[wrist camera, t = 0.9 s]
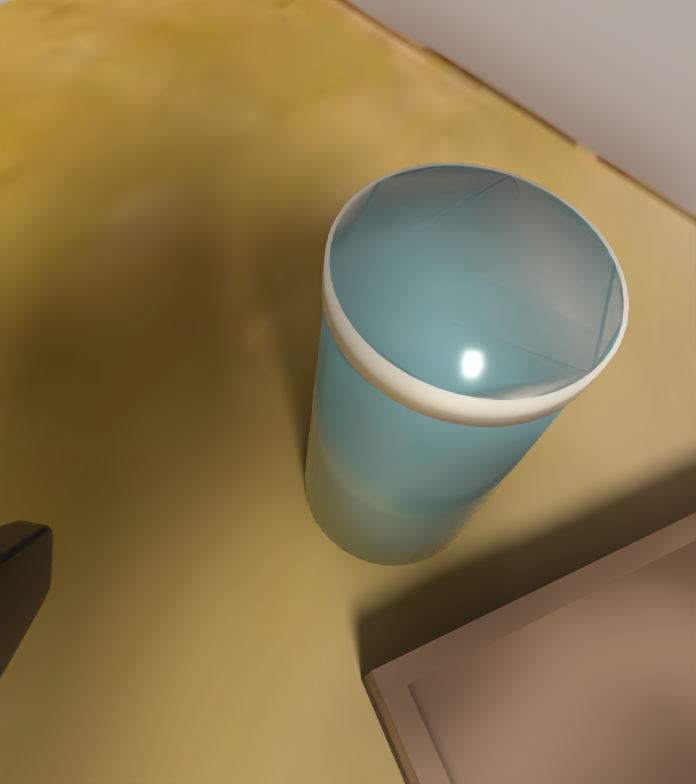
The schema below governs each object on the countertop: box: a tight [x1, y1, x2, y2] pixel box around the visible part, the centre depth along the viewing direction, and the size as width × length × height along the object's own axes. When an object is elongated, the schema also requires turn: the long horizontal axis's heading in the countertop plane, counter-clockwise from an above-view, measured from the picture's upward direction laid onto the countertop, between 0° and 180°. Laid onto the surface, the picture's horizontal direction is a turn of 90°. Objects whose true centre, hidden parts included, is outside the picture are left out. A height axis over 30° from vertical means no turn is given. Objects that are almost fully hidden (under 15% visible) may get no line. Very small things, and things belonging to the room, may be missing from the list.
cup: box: [304, 163, 629, 566], centre depth 20 cm, size 7×7×12 cm
